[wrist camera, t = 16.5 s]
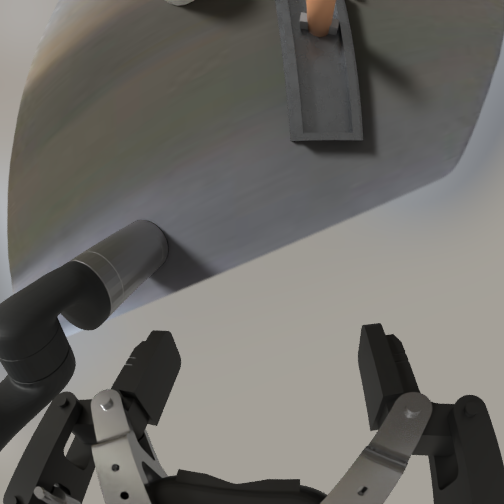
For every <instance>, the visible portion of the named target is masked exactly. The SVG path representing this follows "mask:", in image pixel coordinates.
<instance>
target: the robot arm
mask: <svg viewBox="0 0 504 504" xmlns="http://www.w3.org/2000/svg"><path fill="white" fill-rule="evenodd" d="M167 255H168V244H167V240H166V238H165V236H164V234H163V233H162V231H161V230H160V229H159V228H158V227H157V226H156V225H155V224H153V223H151V222H149V221H145V220H138V221H135V222H133V223H131V224H129V225H128V226H126V227H124V228H122V229H121V230H119V231H117V232H116V233H114V234H112V235H110V236H109V237H107V238H106V239H104V240H102V241H101V242H99V243H97V244H96V245H94V246H92V247H91V248H89V249H88V250H86V251H85V252H83V253H81V254H80V255H78V256H77V257H75V258H74V259H72V260H71V261H69V262H68V263H66V264H64V265H63V266H61V267H59V268H57V269H55V270H53V271H51V272H49V273H48V274H46V275H44V276H42V277H41V278H39V279H38V280H36V281H35V282H33V283H32V284H30V285H29V286H27V287H25V288H24V289H22V290H20V291H19V292H17V293H16V294H14V295H12V296H11V297H9V298H8V299H6V300H5V301H3V302H2V303H1V304H0V362H1V363H2V365H3V366H4V368H5V370H6V371H7V373H8V375H7V376H6V378H5V379H4V380H3V381H2V382H1V383H0V451H1V450H2V449H3V448H4V447H5V446H6V444H7V443H8V442H9V441H10V440H11V439H12V438H13V437H14V436H15V435H16V434H17V433H18V432H19V431H20V430H21V429H22V428H23V427H24V426H25V425H26V424H27V423H28V422H29V421H30V420H31V419H33V418H34V417H35V416H36V415H37V414H38V413H39V412H40V411H41V410H42V409H43V408H44V407H46V406H47V405H48V404H49V403H50V402H51V401H52V400H53V401H52V402H51V404H50V406H49V407H48V409H47V411H46V413H45V414H44V417H43V418H42V420H41V422H40V423H39V425H38V427H37V429H36V431H35V432H34V434H33V436H32V438H31V440H30V442H29V444H28V446H27V447H26V449H25V452H24V453H23V455H22V458H21V459H20V461H19V463H18V466H17V468H16V470H15V472H14V474H13V476H12V478H11V481H10V483H9V485H8V487H7V490H6V492H5V495H4V498H3V503H4V504H82V501H83V499H84V496H85V493H86V490H87V488H88V485H89V482H90V480H91V477H92V474H93V472H94V469H95V467H96V471H97V475H98V479H99V483H100V487H101V490H102V494H103V497H104V500H105V503H106V504H383V503H384V502H385V500H386V499H387V497H388V496H389V494H390V493H391V491H392V490H393V488H394V487H395V485H396V483H397V482H398V480H399V479H400V477H401V475H402V474H403V472H404V470H405V468H406V466H407V464H408V463H407V462H408V460H409V458H410V456H411V455H428V457H429V463H430V470H431V478H432V487H433V498H434V504H504V465H503V461H502V457H501V453H500V449H499V446H498V442H497V439H496V435H495V432H494V429H493V426H492V422H491V419H490V416H489V414H488V411H487V408H486V405H485V403H484V402H483V401H482V400H481V399H480V398H479V397H477V396H474V395H466V396H463V397H461V398H460V399H459V400H457V402H456V403H455V404H438V403H433V402H430V400H429V399H428V398H427V397H426V396H425V395H423V394H421V393H420V391H419V389H418V386H417V383H416V380H415V377H414V374H413V372H412V369H411V366H410V363H409V362H408V358H407V355H406V354H405V350H404V348H403V345H402V342H401V341H400V340H399V339H398V338H397V337H396V336H395V335H393V334H391V335H385V333H384V330H383V328H382V325H381V324H380V323H378V324H369V325H363V326H362V329H361V336H360V344H359V351H358V363H359V370H360V374H361V379H362V385H363V390H364V395H365V401H366V406H367V412H368V417H369V425H370V430H371V431H372V430H378V432H377V434H376V435H375V436H374V438H373V439H372V441H371V442H370V444H369V445H368V446H367V447H366V448H365V449H364V450H363V451H362V453H361V454H360V455H359V457H358V458H357V459H356V461H355V462H354V463H353V465H352V466H351V468H350V469H349V470H348V471H347V473H346V474H345V475H344V476H343V478H342V479H341V480H340V481H339V483H338V484H337V485H336V486H335V487H334V489H333V490H332V491H331V492H330V493H329V494H328V495H326V494H325V493H322V492H321V491H319V490H316V489H314V488H311V487H307V486H302V485H300V479H290V480H289V479H287V480H282V479H281V480H280V479H279V480H278V479H267V480H262V481H255V482H249V483H242V484H233V483H230V482H227V481H224V480H221V479H218V478H216V477H213V476H210V475H208V474H203V473H197V472H191V471H186V470H180V469H179V470H178V473H177V475H176V476H167V474H166V473H165V471H164V470H163V468H162V467H161V465H160V463H159V461H158V459H157V456H156V454H155V451H154V449H153V447H152V444H151V441H150V438H149V436H148V433H147V431H146V430H145V428H146V426H147V424H151V425H156V426H157V424H158V422H159V419H160V417H161V414H162V412H163V409H164V407H165V404H166V402H167V399H168V397H169V394H170V392H171V390H172V387H173V385H174V382H175V380H176V377H177V375H178V372H179V370H180V367H181V358H180V355H179V352H178V349H177V347H176V344H175V342H174V339H173V337H172V334H171V333H170V332H169V331H152V332H151V333H150V335H149V337H148V338H147V340H146V341H142V342H141V343H140V344H139V345H138V346H137V347H135V348H134V350H133V352H132V353H131V355H130V358H129V359H128V360H127V362H126V365H124V367H123V369H122V370H121V372H120V374H119V375H118V377H117V379H116V381H115V382H114V384H113V386H112V388H111V389H107V390H103V391H101V392H99V393H98V394H96V395H95V396H94V398H93V399H90V400H78V399H77V398H76V397H75V395H74V394H73V393H71V392H63V393H60V392H61V391H62V390H63V389H64V387H65V386H66V385H67V384H68V382H69V381H70V379H71V377H72V376H73V373H74V370H75V366H76V364H75V357H74V354H73V351H72V349H71V347H70V345H69V343H68V340H67V338H66V336H65V334H64V332H63V329H62V327H61V325H60V323H59V320H58V318H57V316H58V315H59V314H60V313H61V314H62V315H63V316H64V317H65V318H66V319H67V320H68V321H69V322H70V323H72V324H73V325H75V326H76V327H78V328H80V329H83V330H94V329H96V328H98V327H99V326H100V325H101V324H102V323H103V322H104V321H105V320H106V319H107V318H108V317H109V316H110V315H111V314H112V313H113V312H114V311H115V310H116V309H117V308H118V307H119V306H120V305H121V304H122V303H123V302H124V301H125V300H126V299H127V298H128V297H129V296H130V295H131V294H132V293H133V292H134V291H135V290H136V289H137V288H138V287H139V286H140V285H141V284H142V283H143V282H144V281H145V280H147V279H148V278H149V277H150V276H151V275H152V274H153V273H154V272H155V271H156V270H157V269H158V268H159V267H160V266H161V265H162V264H163V263H164V262H165V260H166V258H167ZM59 393H60V394H59ZM71 432H72V433H73V434H74V435H75V438H74V440H73V442H72V444H71V447H70V448H69V451H68V453H67V455H66V457H65V456H64V452H63V451H64V447H65V444H66V442H67V440H68V438H69V436H70V434H71Z"/></svg>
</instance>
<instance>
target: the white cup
mask: <svg viewBox="0 0 504 504" xmlns="http://www.w3.org/2000/svg"><path fill="white" fill-rule="evenodd" d="M165 1H166V2H168V3H170V4H172V5H176V6H179V5H186V4H188V3H190V2H192V1H194V0H165Z"/></svg>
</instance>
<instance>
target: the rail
mask: <svg viewBox="0 0 504 504" xmlns="http://www.w3.org/2000/svg"><path fill="white" fill-rule="evenodd" d="M275 3H276V10H277V17H278V24H279V32H280V39H281V47H282V56H283V64H284V74H285V83H286V93H287V103H288V115H289V126H290V139H291V141H308V140H363V127H362V113H361V101H360V91H359V82H358V74H357V66H356V59H355V52H354V46H353V40H352V34H351V29H350V23H349V18H348V14H347V9H346V4H345V0H336V2H335V8H334V13H333V18H335V19H339V25H338V30H337V34H336V35H331V34H328V35H326V36H324V37H317V36H314V35H312V34H311V33H310V32H309V31H308V30H306V29H300V15H301V12H303V13H307V5H306V0H275Z"/></svg>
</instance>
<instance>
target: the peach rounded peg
mask: <svg viewBox="0 0 504 504" xmlns="http://www.w3.org/2000/svg"><path fill="white" fill-rule="evenodd" d="M335 2H336V0H306V5H307V13H303V12H301V15H300V29H306V30H308V31H309V32H310V33H311V34H312V35H314V36H317V37H324V36H326V35H328V34H331V35H336V34H337V30H338V25H339V19H335V18H333V13H334V8H335Z"/></svg>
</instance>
